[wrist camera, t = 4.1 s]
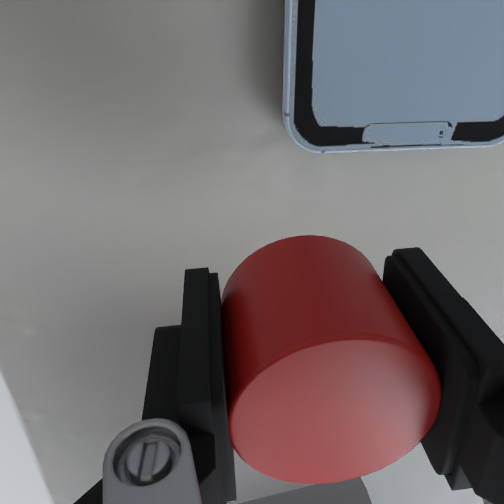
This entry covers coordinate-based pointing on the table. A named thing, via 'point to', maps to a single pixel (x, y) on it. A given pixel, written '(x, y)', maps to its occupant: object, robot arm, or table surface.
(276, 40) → the table surface
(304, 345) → the red cylinder
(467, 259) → the table surface
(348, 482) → the alarm clock
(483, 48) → the smartphone
